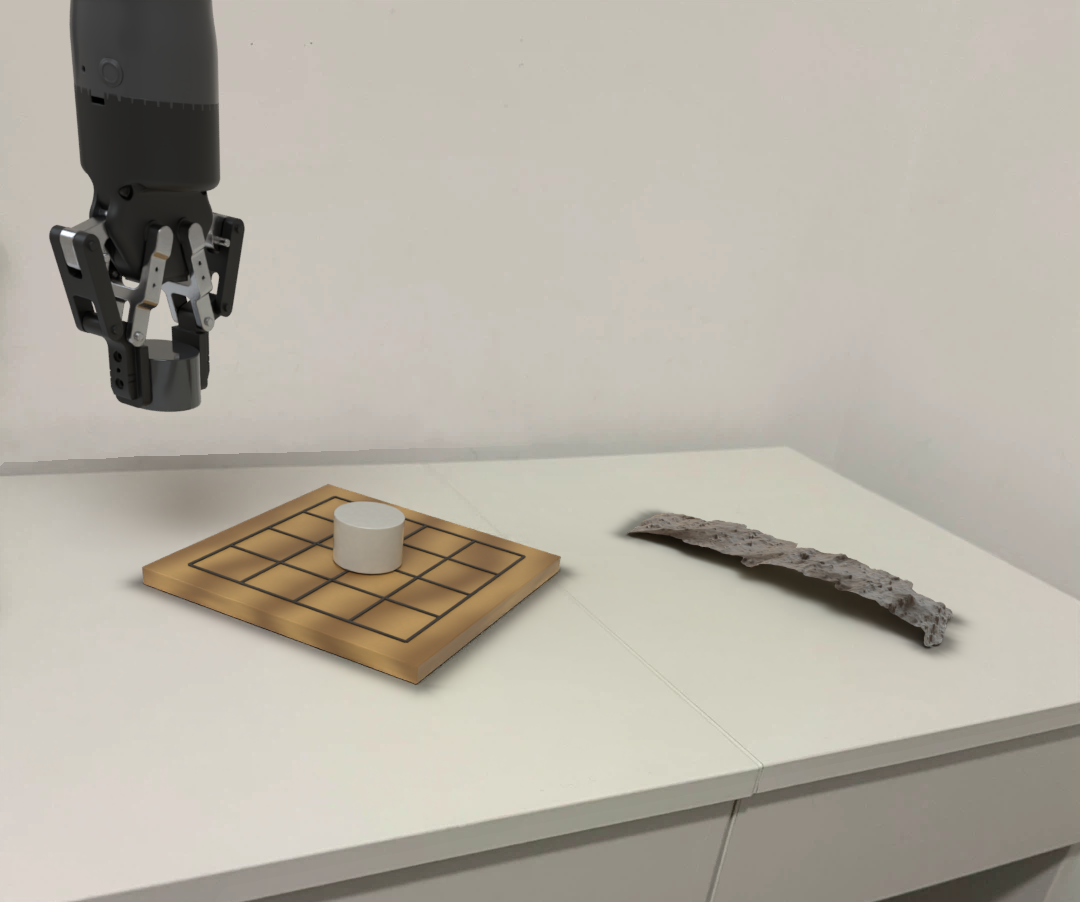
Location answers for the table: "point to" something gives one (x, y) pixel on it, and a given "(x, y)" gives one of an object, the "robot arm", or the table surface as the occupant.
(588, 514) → the table surface
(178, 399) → the black stone
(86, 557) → the table surface
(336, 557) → the pale stone
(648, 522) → the stone fragment
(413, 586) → the board
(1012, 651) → the table surface
